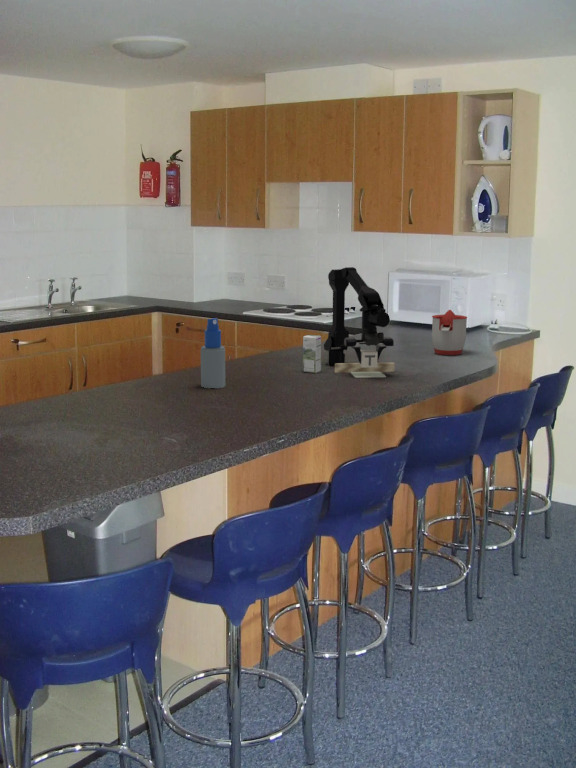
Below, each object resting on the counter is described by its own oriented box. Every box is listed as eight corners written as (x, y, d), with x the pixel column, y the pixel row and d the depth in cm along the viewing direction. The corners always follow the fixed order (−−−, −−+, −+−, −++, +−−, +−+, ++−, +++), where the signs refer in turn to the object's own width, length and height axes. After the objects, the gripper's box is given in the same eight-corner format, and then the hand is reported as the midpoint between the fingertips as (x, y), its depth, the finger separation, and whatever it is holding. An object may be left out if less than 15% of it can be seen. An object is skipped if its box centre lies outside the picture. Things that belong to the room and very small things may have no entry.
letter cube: (362, 367, 340) (362, 352, 339) (359, 364, 346) (359, 349, 345) (377, 367, 341) (377, 352, 340) (374, 364, 347) (374, 349, 346)
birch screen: (335, 372, 349) (335, 364, 348) (334, 372, 350) (334, 363, 350) (394, 371, 352) (394, 363, 351) (393, 371, 353) (393, 362, 352)
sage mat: (355, 377, 339) (355, 376, 339) (350, 373, 348) (350, 372, 348) (385, 377, 340) (385, 376, 340) (380, 372, 350) (380, 371, 350)
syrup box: (321, 370, 353) (321, 335, 350) (315, 373, 347) (315, 337, 345) (308, 369, 355) (308, 334, 352) (302, 372, 350) (302, 336, 347)
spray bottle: (229, 387, 320) (228, 319, 315) (206, 389, 316) (205, 320, 311) (219, 382, 328) (219, 316, 323) (197, 385, 324) (196, 317, 319)
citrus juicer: (426, 355, 390) (427, 311, 386) (434, 350, 406) (436, 307, 402) (461, 358, 385) (463, 312, 381) (468, 352, 400) (470, 308, 396)
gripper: (349, 327, 331) (348, 367, 335) (397, 326, 333) (396, 367, 337) (344, 323, 342) (343, 362, 345) (390, 322, 344) (389, 361, 347)
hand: (368, 363), depth 343 cm, fingers closed on letter cube, 6 cm apart
